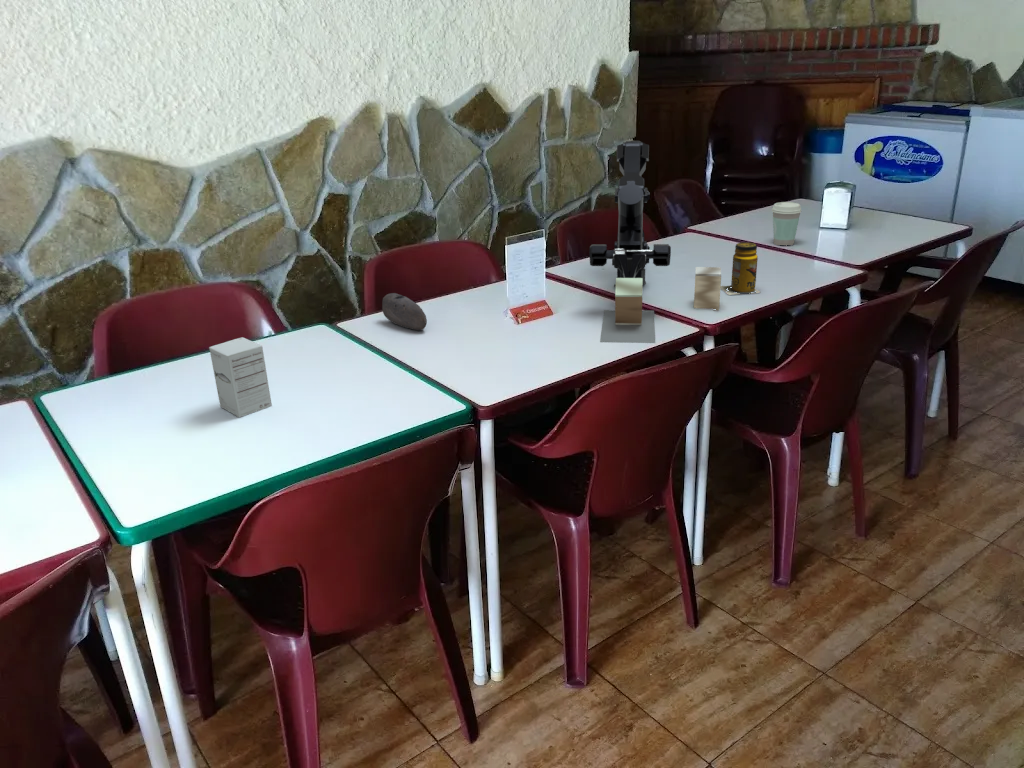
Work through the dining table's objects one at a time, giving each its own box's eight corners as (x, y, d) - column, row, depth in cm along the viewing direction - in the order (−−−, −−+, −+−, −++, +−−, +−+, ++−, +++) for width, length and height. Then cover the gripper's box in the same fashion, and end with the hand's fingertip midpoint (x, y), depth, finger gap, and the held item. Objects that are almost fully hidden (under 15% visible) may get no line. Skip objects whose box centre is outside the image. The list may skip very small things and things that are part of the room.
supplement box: (219, 407, 163) (207, 346, 158) (254, 395, 168) (243, 335, 163) (238, 418, 159) (226, 355, 154) (273, 406, 163) (263, 344, 158)
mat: (604, 311, 207) (604, 310, 207) (653, 312, 205) (654, 310, 205) (600, 343, 187) (600, 342, 187) (655, 344, 186) (655, 342, 185)
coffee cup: (779, 239, 265) (783, 200, 261) (804, 243, 259) (807, 204, 255) (763, 244, 260) (766, 204, 256) (787, 248, 254) (791, 208, 250)
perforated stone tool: (434, 331, 199) (432, 302, 197) (416, 336, 196) (413, 308, 193) (399, 316, 210) (397, 289, 207) (381, 322, 207) (378, 294, 204)
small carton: (616, 307, 201) (616, 277, 195) (641, 307, 200) (642, 277, 194) (615, 324, 197) (615, 295, 191) (641, 325, 196) (642, 295, 190)
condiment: (760, 293, 216) (764, 246, 211) (728, 295, 215) (731, 249, 211) (749, 285, 223) (753, 239, 218) (718, 287, 222) (721, 242, 217)
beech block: (693, 309, 206) (695, 273, 203) (694, 302, 212) (695, 266, 208) (719, 310, 205) (721, 274, 201) (718, 302, 210) (720, 267, 207)
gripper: (668, 247, 208) (668, 303, 202) (592, 247, 211) (589, 303, 205) (670, 221, 198) (670, 280, 192) (590, 222, 201) (587, 280, 195)
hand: (629, 286), depth 196 cm, fingers closed
